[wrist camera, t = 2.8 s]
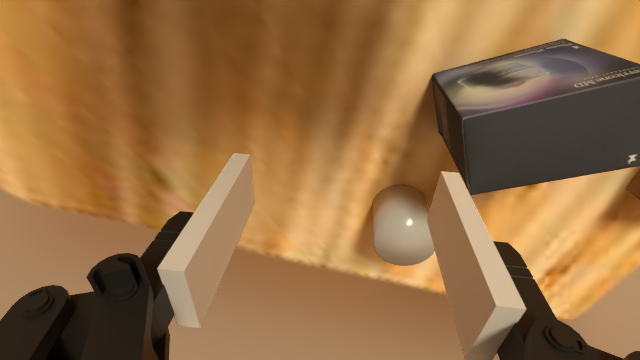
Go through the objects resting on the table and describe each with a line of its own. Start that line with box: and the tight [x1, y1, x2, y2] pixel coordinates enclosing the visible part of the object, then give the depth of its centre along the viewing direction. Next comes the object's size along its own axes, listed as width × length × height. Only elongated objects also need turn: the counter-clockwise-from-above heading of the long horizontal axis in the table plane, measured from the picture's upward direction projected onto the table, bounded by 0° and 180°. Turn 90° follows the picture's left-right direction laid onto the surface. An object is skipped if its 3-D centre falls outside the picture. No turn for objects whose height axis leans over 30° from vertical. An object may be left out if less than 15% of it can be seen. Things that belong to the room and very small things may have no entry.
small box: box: [432, 39, 640, 195], centre depth 24 cm, size 11×6×10 cm, turn 108°
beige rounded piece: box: [372, 185, 435, 266], centre depth 34 cm, size 6×6×6 cm
